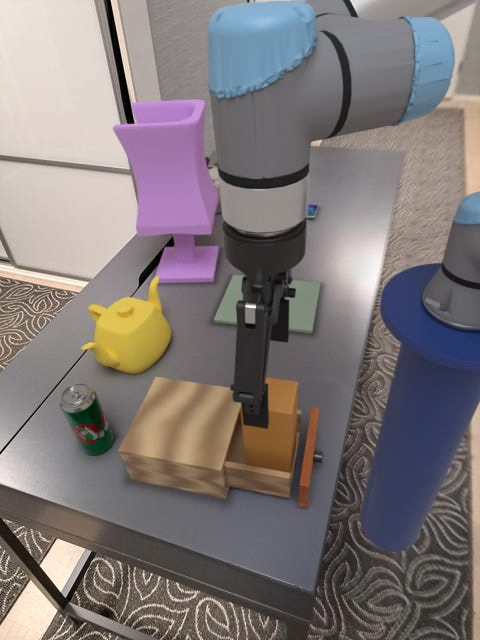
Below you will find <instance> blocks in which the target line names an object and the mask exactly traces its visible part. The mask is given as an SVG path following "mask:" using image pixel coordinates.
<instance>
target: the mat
mask: <svg viewBox="0 0 480 640" xmlns="http://www.w3.org/2000/svg"><path fill="white" fill-rule="evenodd" d="M243 276H244V274H243V275H242V274H233V275H232V277H231V278H230V281H229V283H228V285H227V288H226V289H225V292H224V295H223V297H222V299H221V302H220V304H219V306H218V309H217V311H216V313H215V315H214V318H213V323H215V324H224V325H234V326H237V313H236V304H237V302H238V300H243V294H242V292H241V287H242V279H243ZM288 285H289V288H296V294H295V298H290V297H285V299H286V300H289V332H294V333H302V334H303V333H304V334H313V331H314V326H315V319H316V314H317V308H318V303H319V297H320V292H321V285H322V282H321V281H320V282H318V281H309V280H308V281H307V280H298V279H293V281H292V282H291V284H288Z"/></svg>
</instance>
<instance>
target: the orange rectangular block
mask: <svg viewBox="0 0 480 640" xmlns="http://www.w3.org/2000/svg"><path fill="white" fill-rule="evenodd" d="M265 383H266V384H268V405H269V425H268V429H265V428H259V427H253V426H247V425H243V416H242V405H240V410H241V420H242V429H243V439H244V449H245V459H246V465H250V466H256V467H261V468H266V469H272V470H277V471H282V472H288V473H291V471H292V466H293V460H294V454H295V448H296V434H297V410H298V398H299V381H296V380H290V379H289V380H288V379H283V378H282V379H281V378H275V377H267V376H266V382H265Z"/></svg>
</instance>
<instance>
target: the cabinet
mask: <svg viewBox="0 0 480 640" xmlns="http://www.w3.org/2000/svg"><path fill="white" fill-rule="evenodd" d="M240 405H241V403H239V402H234V401H233V391H232V390H231V388H230V386H222V385H215V384H208V383H201V382H195V381H188V380H182V379H174V378H169V377H160V376H154V379H153V381H152V382H151V385H150V387H149V388H148V391H147V393H146V396H144V398H143V401H142V402H141V405H140V406H139V409H138V411H137V413H136V414H135V416H134V418H133V421H132V423H131V425H130V427H129V429H128V430H127V432H126V434H125V436H124V438H123V440H122V442H121V444H120V446H119V448H118V451H117V452H118V453H119V456H120V457H121V458H120V459H121V460H122V462H123V464H124V468H125V469H126V472H127V474H128V477H129V479H130V480H132V481H135V482H142V483H146V484H152V485H157V486H161V487H166V488H170V489H176V490H180V491H184V492H185V491H186V492H190V493H193V494H200V495H204V496H210V497H213V498H218V499H223V500H227V498H228V494H229V490H230V488H231V487H230V486H226V482H225V476H224V470H223V467H224V464H225V461H226V457H227V454H228V451H229V447H230V444H231V441H232V437H233V434H234V430H235V427H236V424H237V420H238V417H239V414H240Z"/></svg>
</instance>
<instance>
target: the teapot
mask: <svg viewBox="0 0 480 640" xmlns="http://www.w3.org/2000/svg"><path fill="white" fill-rule="evenodd" d="M154 277H155V276H154ZM154 277H153V279H151V281H150V284H149V288H148V295H147V301H146V300H144V299H139V298H136V297H130V296H127V297H123V298H120V299H119V300H117V301H115V302H114V303H112V304H111V305H110V306H108V308H106V307H105V306H102V305H100V304H97V303H92V304H90V305H89V306H87V307H88V308H87V311H88V313H89V315H90V316H91V318H92V320H93V321H94V322H95V323H96V324H95V328H94V334H93V341H90V342H87V343H85V344H84V345H82V346H81V348H80V349H81V350H83V351H87V350H88V351H92V353H93V355H94V358H95V359H96V361H97V362H98V363H99V364H100V365H103V366H104V367H108V368H112V369H114V370H117V371H119V372H123V373H127V374H131V375H136V374H137V375H139V374H141V373H143V372H145V371H147V370H148V369H150V367H152V366H153V365H154V364H156V363H157V362H158V361H159V360H160V359H161V357H162V356H163V355H164V353H165V351H166V350H167V348H168V345H169V344H170V341H171V338H172V331H171V327H170V324H169V322H168V320H167V318H166V317H165V316H164V314H163V307H162V302H161V300H160V296H159V292H158V287H159V283H158V282H159V276H156V277H155V278H154Z"/></svg>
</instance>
